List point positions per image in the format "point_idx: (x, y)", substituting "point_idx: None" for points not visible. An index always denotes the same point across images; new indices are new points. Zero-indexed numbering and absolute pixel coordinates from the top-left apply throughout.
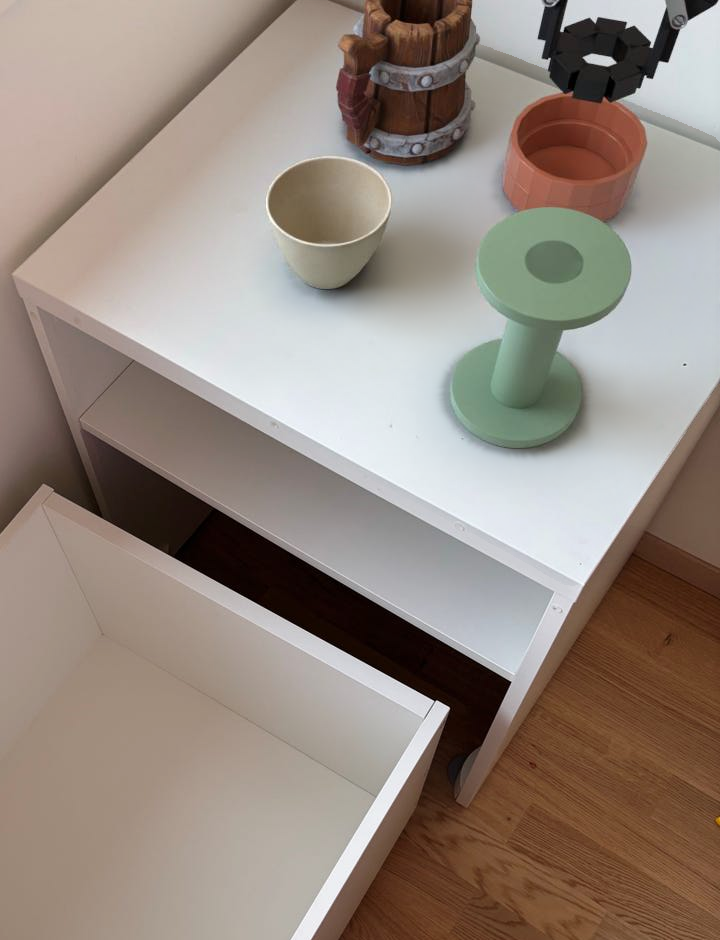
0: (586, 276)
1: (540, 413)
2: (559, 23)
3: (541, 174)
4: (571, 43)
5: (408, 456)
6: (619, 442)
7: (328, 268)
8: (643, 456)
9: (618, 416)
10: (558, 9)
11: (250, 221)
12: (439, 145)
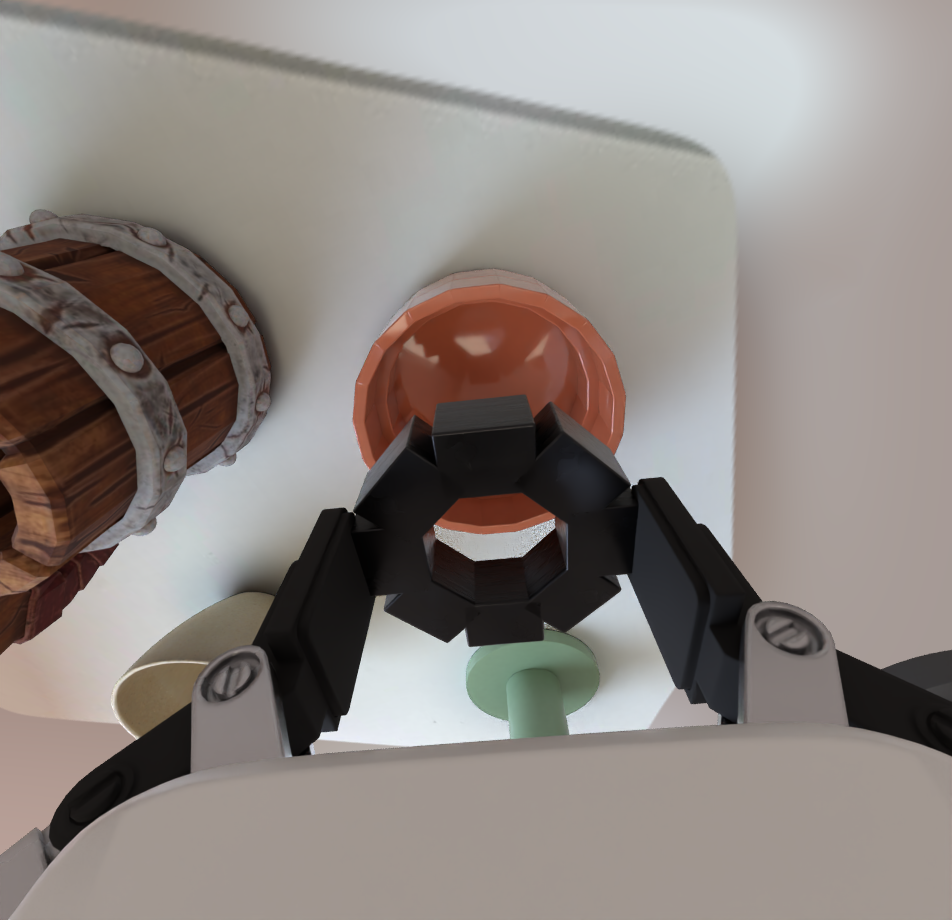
0: None
1: (564, 697)
2: (354, 676)
3: (458, 530)
4: (404, 562)
5: (463, 735)
6: (642, 678)
7: None
8: (666, 682)
9: (637, 659)
10: (330, 729)
11: (125, 592)
12: (253, 431)
